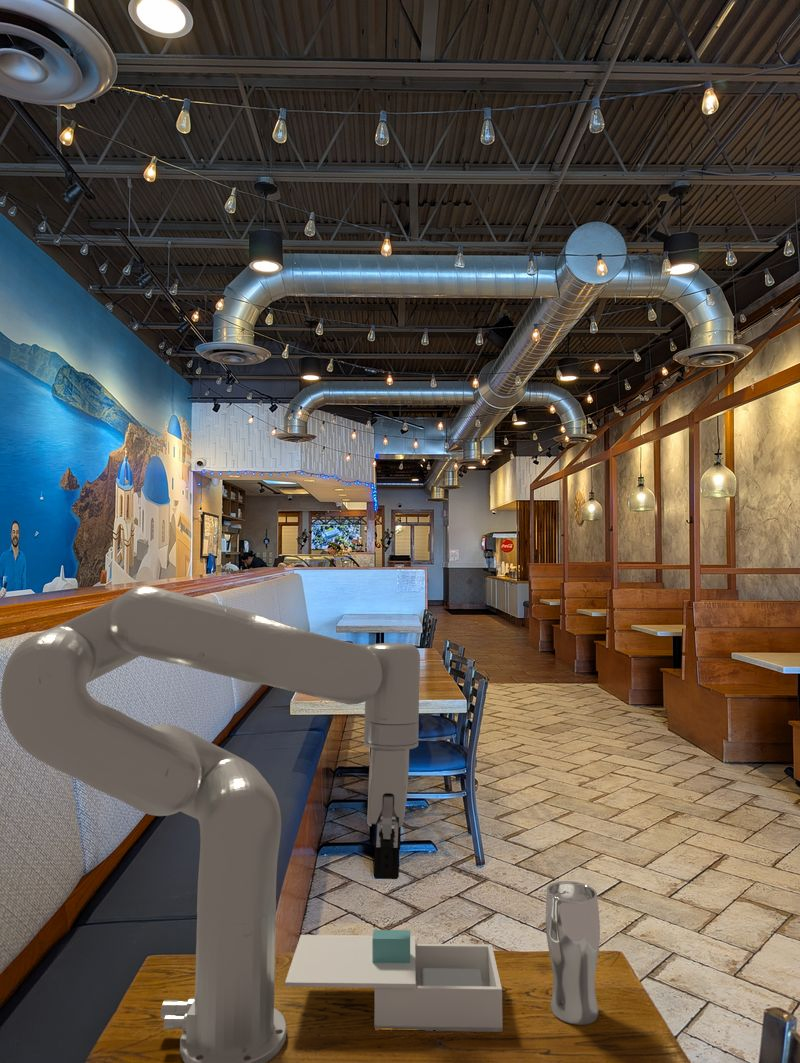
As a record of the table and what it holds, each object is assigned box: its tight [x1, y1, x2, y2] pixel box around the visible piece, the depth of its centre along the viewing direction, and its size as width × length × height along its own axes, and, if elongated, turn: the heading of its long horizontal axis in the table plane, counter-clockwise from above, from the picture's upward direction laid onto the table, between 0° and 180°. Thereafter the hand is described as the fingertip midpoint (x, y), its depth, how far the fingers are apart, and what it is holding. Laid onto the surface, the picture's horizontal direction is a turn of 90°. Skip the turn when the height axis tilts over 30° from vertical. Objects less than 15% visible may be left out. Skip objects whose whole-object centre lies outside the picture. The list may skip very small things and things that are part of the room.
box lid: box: [284, 929, 416, 989], centre depth 90 cm, size 16×12×4 cm
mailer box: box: [373, 943, 504, 1033], centre depth 90 cm, size 16×11×5 cm
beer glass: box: [545, 880, 601, 1026], centre depth 89 cm, size 7×7×15 cm
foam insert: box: [421, 968, 483, 986], centre depth 90 cm, size 8×6×2 cm
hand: (387, 863), depth 91 cm, fingers open, 9 cm apart
